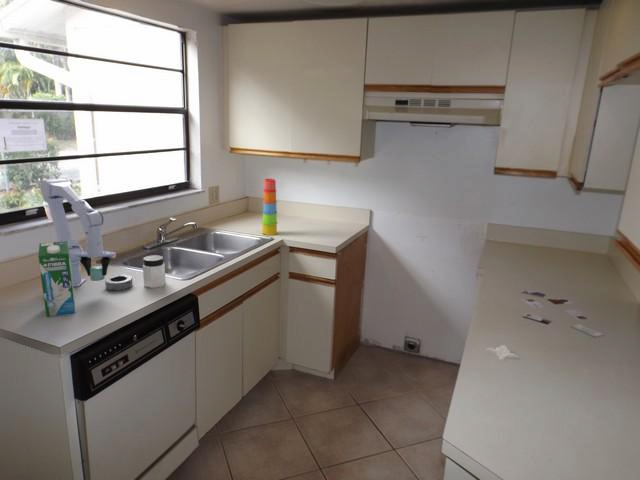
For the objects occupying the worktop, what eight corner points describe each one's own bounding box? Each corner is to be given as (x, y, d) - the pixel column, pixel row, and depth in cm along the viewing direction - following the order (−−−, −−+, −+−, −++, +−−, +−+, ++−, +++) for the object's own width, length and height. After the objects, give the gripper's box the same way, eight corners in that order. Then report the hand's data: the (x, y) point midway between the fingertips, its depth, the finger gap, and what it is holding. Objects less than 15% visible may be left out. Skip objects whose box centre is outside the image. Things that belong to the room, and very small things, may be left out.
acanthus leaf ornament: (485, 351, 148) (486, 346, 148) (501, 348, 151) (501, 343, 151) (502, 363, 142) (503, 357, 141) (518, 359, 144) (519, 353, 144)
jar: (146, 289, 186) (144, 262, 183) (141, 283, 193) (140, 256, 190) (168, 285, 191) (166, 259, 188) (163, 279, 198) (161, 254, 195)
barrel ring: (102, 291, 183) (101, 283, 182) (110, 282, 192) (109, 274, 191) (128, 290, 184) (128, 283, 183) (135, 282, 194) (134, 274, 193)
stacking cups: (281, 233, 283) (282, 179, 274) (269, 236, 276) (270, 180, 266) (269, 230, 290) (270, 177, 280) (258, 233, 282) (258, 178, 273)
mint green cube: (88, 280, 174) (87, 270, 173) (93, 276, 179) (92, 265, 178) (102, 280, 175) (101, 270, 174) (106, 276, 180) (105, 265, 179)
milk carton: (46, 316, 158) (37, 249, 152) (47, 307, 166) (39, 242, 159) (75, 312, 162) (67, 247, 156) (75, 303, 170) (68, 240, 163)
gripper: (70, 244, 168) (73, 278, 172) (110, 245, 170) (113, 278, 174) (77, 239, 175) (80, 272, 179) (116, 240, 177) (118, 272, 181)
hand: (97, 275), depth 177 cm, fingers closed on mint green cube, 5 cm apart
